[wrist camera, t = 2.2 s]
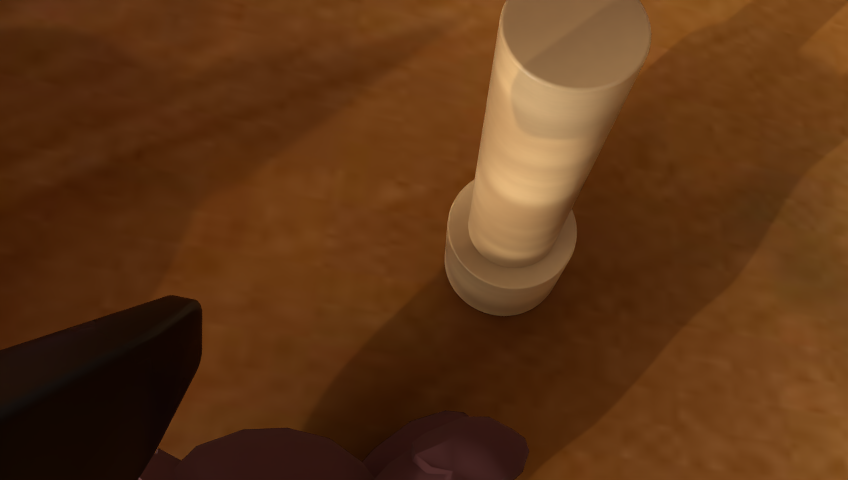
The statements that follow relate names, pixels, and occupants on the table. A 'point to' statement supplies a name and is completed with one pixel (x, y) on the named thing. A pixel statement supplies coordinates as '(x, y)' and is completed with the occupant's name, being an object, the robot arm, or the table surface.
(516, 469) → the icecream
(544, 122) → the cylinder
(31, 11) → the table surface
